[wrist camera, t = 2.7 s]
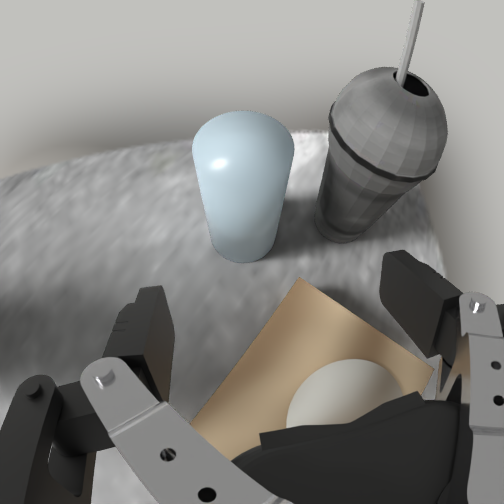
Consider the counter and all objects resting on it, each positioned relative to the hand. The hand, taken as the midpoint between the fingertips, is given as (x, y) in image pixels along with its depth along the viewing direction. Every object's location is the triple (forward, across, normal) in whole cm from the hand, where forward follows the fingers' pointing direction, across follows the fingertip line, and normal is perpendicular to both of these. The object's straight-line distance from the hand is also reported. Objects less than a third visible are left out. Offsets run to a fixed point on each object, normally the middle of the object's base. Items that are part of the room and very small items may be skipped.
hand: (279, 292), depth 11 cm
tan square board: (+5, -2, +14) cm, 15 cm away
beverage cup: (+15, -8, +3) cm, 18 cm away
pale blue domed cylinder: (+15, 0, +3) cm, 16 cm away
